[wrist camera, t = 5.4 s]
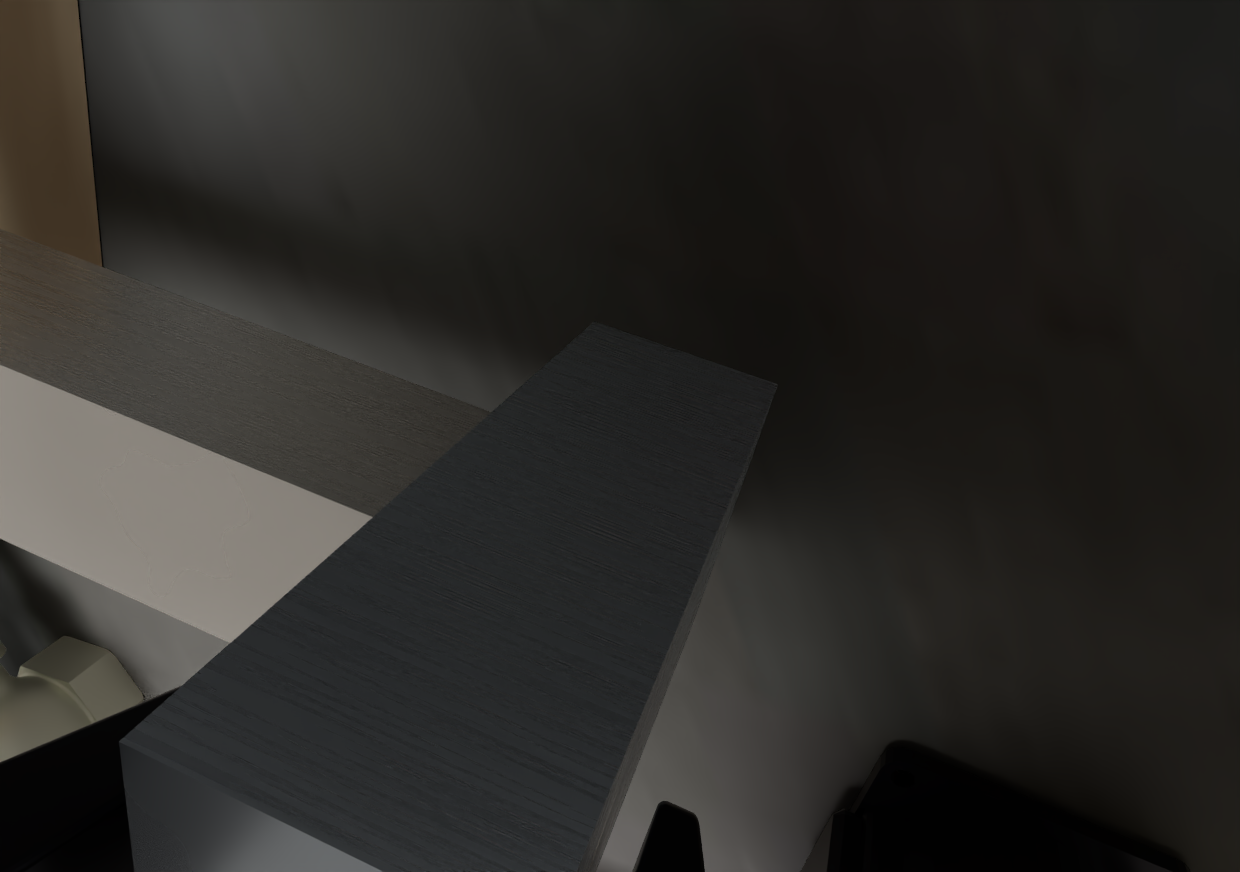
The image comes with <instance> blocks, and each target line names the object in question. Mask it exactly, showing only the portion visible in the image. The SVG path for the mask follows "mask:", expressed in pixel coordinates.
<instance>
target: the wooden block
mask: <svg viewBox="0 0 1240 872" xmlns="http://www.w3.org/2000/svg"><path fill="white" fill-rule="evenodd" d="M0 229H2V230H4V231H7V232H10V233H12V234H15V235H18V236H21V237H23V238H26V239H29V240H31V241H34V242H37V243H39V244H42V245H45V246H47V247H50V248H53V249H55V250H58V251H61V252H63V253H66V254H69V255H71V256H74V257H77V258H79V259H82V260H85V261H87V262H90V263H93V264H95V265H98V266H101V267H102V258H101V248H100V237H99V226H98V216H97V205H96V194H95V184H94V173H93V162H92V152H91V141H90V130H89V120H88V109H87V98H86V87H85V77H84V66H83V55H82V45H81V34H80V23H79V13H78V2H77V0H0Z"/></svg>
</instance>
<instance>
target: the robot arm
mask: <svg viewBox="0 0 1240 872" xmlns="http://www.w3.org/2000/svg"><path fill="white" fill-rule="evenodd" d="M180 687H181V686H180ZM180 687H177V688H175V689H172V690H170V691H168V692H165V693H163V694H161V695H158V696H156V697H154V698H151V699H149V700H146V701H144V702H142V703H139V704H137V705H135V706H132V707H130V708H127V709H125V710H123V711H120V712H118V713H116V714H113V715H111V716H108V717H106V718H104V719H101V720H99V721H97V722H94V723H92V724H89V725H87V726H85V727H82V728H80V729H78V730H75V731H73V732H70V733H68V734H66V735H63V736H61V737H59V738H56V739H54V740H51V741H49V742H47V743H44V744H42V745H40V746H37V747H35V748H32V749H30V750H28V751H25V752H23V753H21V754H18V755H16V756H14V757H11V758H9V759H6V760H4V761H2V762H0V872H134V865H133V856H132V848H131V839H130V831H129V822H128V814H127V806H126V797H125V789H124V780H123V772H122V763H121V755H120V746H119V741H120V740H121V739H122V738H124V737H125V736H126V735H127V734H128V733H129V732H130V731H131V730H133V729H134V728H135V727H136V726H137V725H138V724H139V723H141V722H142V721H143V720H144V719H145V718H146V717H147V716H148V715H150V714H151V713H152V712H153V711H154V710H155V709H156V708H158V707H159V706H160V705H161V704H162V703H163V702H164V701H165V700H167V699H168V698H169V697H170V696H171V695H172V694H173V693H174V692H176V691H177V690H178V689H179V688H180ZM896 770H905V771H908V772H910V773H907V774H904V773H899V772H897V771H896ZM633 872H705V869H704V860H703V852H702V843H701V835H700V826H699V822H698V818H697V816H696V815H695V814H694V813H692V812H690V811H688V810H686V809H684V808H681V807H679V806H677V805H675V804H672V803H670V802H668V801H662V802H660V803H659V804H658V806H657V808H656V811H655V813H654V816H653V819H652V821H651V824H650V826H649V829H648V832H647V834H646V837H645V839H644V842H643V845H642V847H641V850H640V853H639V855H638V858H637V861H636V864H635V866H634V869H633ZM801 872H1190V870H1189V868H1188V867H1187V866H1186V865H1185V863H1183V862H1181V861H1179V860H1178V859H1176V858H1174V857H1171V856H1169V855H1166V854H1164V853H1162V852H1159V851H1157V850H1154V849H1152V848H1149V847H1147V846H1145V845H1142V844H1140V843H1137V842H1135V841H1132V840H1130V839H1127V838H1125V837H1123V836H1120V835H1118V834H1115V833H1113V832H1110V831H1108V830H1106V829H1103V828H1101V827H1098V826H1096V825H1093V824H1091V823H1089V822H1086V821H1084V820H1081V819H1079V818H1076V817H1074V816H1072V815H1069V814H1067V813H1064V812H1062V811H1059V810H1057V809H1055V808H1052V807H1050V806H1047V805H1045V804H1042V803H1040V802H1038V801H1035V800H1033V799H1030V798H1028V797H1025V796H1023V795H1021V794H1018V793H1016V792H1013V791H1011V790H1008V789H1006V788H1004V787H1001V786H999V785H996V784H994V783H991V782H989V781H987V780H984V779H982V778H979V777H977V776H974V775H972V774H970V773H967V772H965V771H962V770H960V769H957V768H955V767H953V766H950V765H948V764H945V763H943V762H940V761H938V760H936V759H933V758H931V757H928V756H926V755H923V754H921V753H919V752H916V751H914V750H911V749H907V748H903V747H902V748H892V749H889V750H886V751H885V752H884V753H883V754H882V755H881V756H880V758H879V760H878V762H877V763H876V765H875V767H874V769H873V770H872V772H871V774H870V776H869V777H868V779H867V781H866V783H865V785H864V786H863V788H862V790H861V792H860V793H859V795H858V797H857V799H856V800H855V802H854V804H853V806H852V807H851V809H850V811H848V810H846V809H842V810H840V811H838V812H836V813H833V814H832V816H831V817H830V819H829V821H828V823H827V825H826V826H825V828H824V830H823V832H822V834H821V836H820V837H819V839H818V841H817V843H816V845H815V846H814V848H813V850H812V852H811V854H810V855H809V857H808V859H807V861H806V863H805V864H804V866H803V868H802V870H801Z"/></svg>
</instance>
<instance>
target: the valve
mask: <svg viewBox="0 0 1240 872" xmlns="http://www.w3.org/2000/svg"><path fill="white" fill-rule="evenodd" d="M5 653H6V648H5V646H4V645H3V644H2V642H1V641H0V658H1V657H2V656H3V655H4V654H5ZM143 700H144V697H143V695H142V693H141V691H140V690H139V688H138V687H137V686H136V684H135V683H134V682H133V680H132V679H131V677H130V676H129V675H128V673H127V672H126V671H125V669H124V668H123V666H122V665H121V664H120V662H119V661H118V660H117V658H116V657H115V655H114V654H112V653H111V652H110V651H109V650H107V649H105V648H102V647H99V646H96V645H93V644H90V643H87V642H84V641H81V640H78V639H75V638H72V637H69V636H63V637H61V638H60V639H58V640H57V641H55V642H54V643H53V644H51V645H50V646H48V647H47V648H45V649H44V650H43V651H41V652H40V653H38V654H37V655H35V656H34V657H33V658H31V659H30V660H28V661H27V662H25V663H24V664H23V665H21V666H20V670H19V673H18V676H17V677H13V676H11V675H9V674H8V672H7V671H6V670H5V669H4V667H3V666H2V665H1V663H0V762H2V761H4V760H6V759H9V758H11V757H14V756H16V755H18V754H21V753H23V752H25V751H28V750H30V749H32V748H35V747H37V746H40V745H42V744H44V743H47V742H49V741H51V740H54V739H56V738H59V737H61V736H63V735H66V734H68V733H70V732H73V731H75V730H78V729H80V728H82V727H85V726H87V725H89V724H92V723H94V722H97V721H99V720H101V719H104V718H106V717H108V716H111V715H113V714H116V713H118V712H120V711H123V710H125V709H127V708H130V707H132V706H135V705H137V704H139V703H142V702H143Z"/></svg>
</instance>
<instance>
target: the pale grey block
mask: <svg viewBox="0 0 1240 872" xmlns="http://www.w3.org/2000/svg"><path fill="white" fill-rule="evenodd" d="M777 386H778V384H775V383H772V382H770V381H767V380H764V379H761V378H758V377H755V376H752V375H749V374H746V373H743V372H740V371H738V370H735V369H732V368H729V367H726V366H723V365H720V364H717V363H714V362H711V361H709V360H706V359H703V358H700V357H697V356H694V355H691V354H688V353H685V352H682V351H679V350H677V349H674V348H671V347H668V346H665V345H662V344H659V343H656V342H653V341H650V340H648V339H645V338H642V337H639V336H636V335H633V334H630V333H627V332H624V331H621V330H618V329H616V328H613V327H610V326H607V325H604V324H601V323H598V322H595V321H594V322H593V323H592V324H591V325H590V326H589V327H587V328H586V329H585V330H584V331H583V332H582V333H581V334H580V335H578V336H577V337H576V338H575V339H574V340H573V341H572V342H571V343H569V344H568V345H567V346H566V347H565V348H564V349H563V350H561V351H560V352H559V353H558V354H557V355H556V356H555V357H554V358H552V359H551V360H550V361H549V362H548V363H547V364H546V365H544V366H543V367H542V368H541V369H540V370H539V371H538V372H537V373H535V374H534V375H533V376H532V377H531V378H530V379H529V380H528V381H526V382H525V383H524V384H523V385H522V386H521V387H520V388H518V389H517V390H516V391H515V392H514V393H513V394H512V395H511V396H509V397H508V398H507V399H506V400H505V401H504V402H503V403H501V404H500V405H499V406H498V407H497V408H496V409H495V410H494V411H492V412H489V411H486V410H484V409H481V408H478V407H476V406H473V405H470V404H468V403H465V402H462V401H460V400H457V399H454V398H452V397H449V396H446V395H444V394H441V393H438V392H435V391H433V390H430V389H427V388H425V387H422V386H419V385H417V384H414V383H411V382H409V381H406V380H403V379H401V378H398V377H395V376H393V375H390V374H387V373H385V372H382V371H379V370H377V369H374V368H371V367H369V366H366V365H363V364H361V363H358V362H355V361H353V360H350V359H347V358H344V357H342V356H339V355H336V354H334V353H331V352H328V351H326V350H323V349H320V348H318V347H315V346H312V345H310V344H307V343H304V342H302V341H299V340H296V339H294V338H291V337H288V336H286V335H283V334H280V333H278V332H275V331H272V330H270V329H267V328H264V327H261V326H259V325H256V324H253V323H251V322H248V321H245V320H243V319H240V318H237V317H235V316H232V315H229V314H227V313H224V312H221V311H219V310H216V309H213V308H211V307H208V306H205V305H203V304H200V303H197V302H195V301H192V300H189V299H187V298H184V297H181V296H178V295H176V294H173V293H170V292H168V291H165V290H162V289H160V288H157V287H154V286H152V285H149V284H146V283H144V282H141V281H138V280H136V279H133V278H130V277H128V276H125V275H122V274H120V273H117V272H114V271H112V270H109V269H106V268H104V267H101V266H98V265H95V264H93V263H90V262H87V261H85V260H82V259H79V258H77V257H74V256H71V255H69V254H66V253H63V252H61V251H58V250H55V249H53V248H50V247H47V246H45V245H42V244H39V243H37V242H34V241H31V240H29V239H26V238H23V237H21V236H18V235H15V234H12V233H10V232H7V231H4V230H2V229H0V539H2V540H4V541H7V542H9V543H11V544H13V545H15V546H18V547H20V548H22V549H24V550H26V551H29V552H31V553H33V554H35V555H37V556H40V557H42V558H44V559H46V560H48V561H51V562H53V563H55V564H57V565H59V566H62V567H64V568H66V569H68V570H70V571H73V572H75V573H77V574H79V575H81V576H84V577H86V578H88V579H90V580H92V581H95V582H97V583H99V584H101V585H103V586H106V587H108V588H110V589H112V590H114V591H117V592H119V593H121V594H123V595H125V596H128V597H130V598H132V599H134V600H136V601H139V602H141V603H143V604H145V605H147V606H150V607H152V608H154V609H156V610H158V611H161V612H163V613H165V614H167V615H169V616H172V617H174V618H176V619H178V620H180V621H183V622H185V623H187V624H189V625H192V626H194V627H196V628H198V629H200V630H203V631H205V632H207V633H209V634H211V635H214V636H216V637H218V638H220V639H222V640H225V641H227V642H229V643H230V644H229V645H228V646H227V647H225V648H224V649H223V650H222V651H221V652H220V653H219V654H217V655H216V656H215V657H214V658H213V659H212V660H211V661H210V662H208V663H207V664H206V665H205V666H204V667H203V668H202V669H201V670H199V671H198V672H197V673H196V674H195V675H194V676H193V677H191V678H190V679H189V680H188V681H187V682H186V683H185V684H184V685H182V686H181V687H180V688H179V689H178V690H177V691H176V692H174V693H173V694H172V695H171V696H170V697H169V698H168V699H167V700H165V701H164V702H163V703H162V704H161V705H160V706H159V707H158V708H156V709H155V710H154V711H153V712H152V713H151V714H150V715H148V716H147V717H146V718H145V719H144V720H143V721H142V722H141V723H139V724H138V725H137V726H136V727H135V728H134V729H133V730H131V731H130V732H129V733H128V734H127V735H126V736H125V737H124V738H122V739H121V740H120V741H119V746H120V755H121V763H122V772H123V780H124V789H125V797H126V806H127V814H128V822H129V831H130V839H131V848H132V856H133V865H134V872H596V870H597V867H598V865H599V862H600V860H601V857H602V855H603V852H604V850H605V847H606V844H607V842H608V839H609V837H610V834H611V832H612V829H613V827H614V824H615V821H616V819H617V816H618V814H619V811H620V809H621V806H622V803H623V801H624V798H625V796H626V793H627V791H628V788H629V786H630V783H631V780H632V778H633V775H634V773H635V770H636V768H637V765H638V763H639V760H640V757H641V755H642V752H643V750H644V747H645V745H646V742H647V740H648V737H649V734H650V732H651V729H652V727H653V724H654V722H655V719H656V717H657V714H658V711H659V709H660V706H661V704H662V701H663V699H664V696H665V693H666V691H667V688H668V686H669V683H670V681H671V678H672V676H673V673H674V670H675V668H676V665H677V663H678V660H679V658H680V655H681V653H682V650H683V647H684V645H685V642H686V640H687V637H688V635H689V632H690V630H691V627H692V624H693V621H694V619H695V616H696V613H697V610H698V607H699V605H700V602H701V599H702V596H703V593H704V591H705V588H706V585H707V582H708V579H709V577H710V574H711V571H712V568H713V565H714V563H715V560H716V557H717V554H718V551H719V549H720V546H721V543H722V540H723V537H724V535H725V532H726V529H727V526H728V523H729V520H730V518H731V515H732V512H733V509H734V506H735V504H736V501H737V498H738V495H739V492H740V490H741V487H742V484H743V481H744V478H745V476H746V473H747V470H748V467H749V464H750V462H751V459H752V456H753V453H754V450H755V448H756V445H757V442H758V439H759V436H760V434H761V431H762V428H763V425H764V422H765V420H766V417H767V414H768V411H769V408H770V406H771V403H772V400H773V397H774V394H775V392H776V389H777Z"/></svg>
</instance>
